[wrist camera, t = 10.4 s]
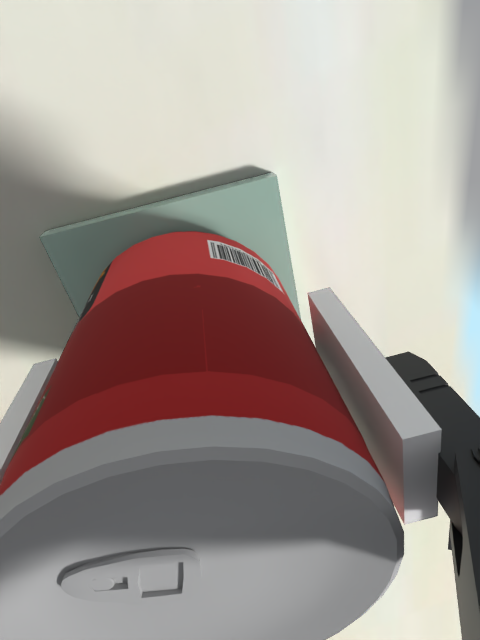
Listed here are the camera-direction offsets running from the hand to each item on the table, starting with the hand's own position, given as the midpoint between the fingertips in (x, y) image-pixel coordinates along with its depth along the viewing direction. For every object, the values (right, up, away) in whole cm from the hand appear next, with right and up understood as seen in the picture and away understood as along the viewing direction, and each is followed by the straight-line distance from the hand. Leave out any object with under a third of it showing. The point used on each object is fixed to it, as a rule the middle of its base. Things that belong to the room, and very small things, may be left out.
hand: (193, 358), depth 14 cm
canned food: (0, +2, +3) cm, 4 cm away
